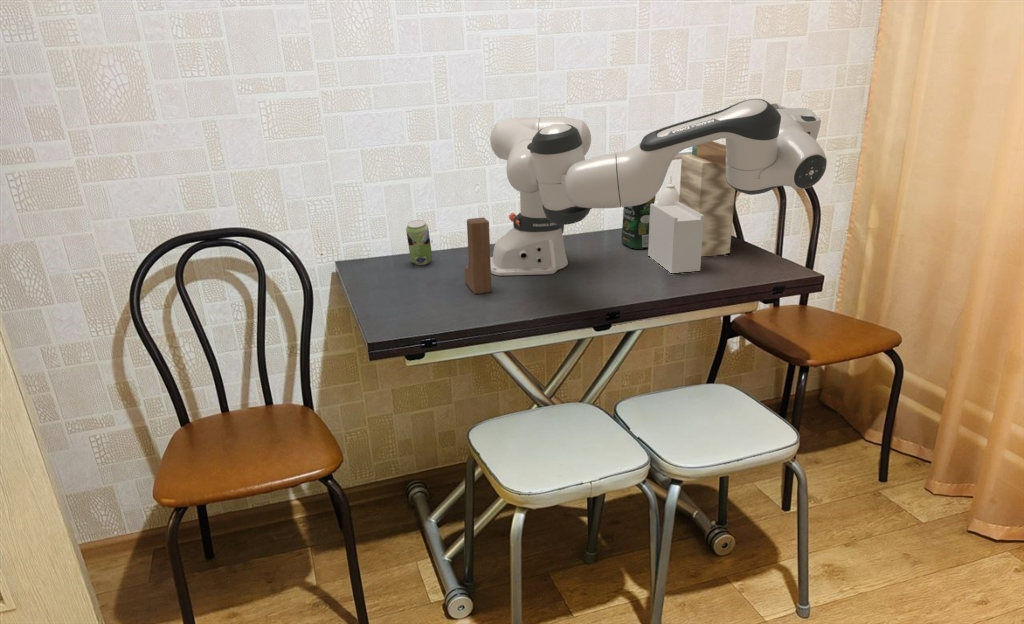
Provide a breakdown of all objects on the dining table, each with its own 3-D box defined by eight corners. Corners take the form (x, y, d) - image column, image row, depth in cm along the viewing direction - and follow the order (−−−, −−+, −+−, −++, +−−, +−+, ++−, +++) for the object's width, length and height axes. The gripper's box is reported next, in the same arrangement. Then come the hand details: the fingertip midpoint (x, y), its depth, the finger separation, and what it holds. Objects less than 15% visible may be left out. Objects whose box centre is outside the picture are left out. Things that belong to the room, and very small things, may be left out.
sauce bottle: (686, 235, 227) (690, 176, 220) (667, 239, 223) (670, 179, 216) (668, 229, 233) (671, 172, 226) (649, 233, 229) (652, 175, 223)
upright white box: (671, 274, 194) (674, 217, 188) (648, 256, 208) (650, 203, 203) (700, 271, 195) (704, 215, 190) (674, 254, 210) (678, 201, 204)
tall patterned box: (695, 258, 206) (702, 163, 196) (676, 245, 218) (681, 155, 208) (729, 254, 208) (737, 161, 198) (708, 242, 220) (715, 152, 210)
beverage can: (434, 259, 210) (431, 217, 206) (429, 267, 204) (426, 224, 199) (412, 259, 211) (409, 217, 207) (406, 267, 204) (403, 224, 200)
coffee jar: (617, 242, 221) (618, 180, 214) (640, 239, 224) (643, 177, 217) (633, 251, 213) (635, 186, 206) (657, 248, 215) (660, 184, 208)
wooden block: (465, 283, 191) (461, 214, 184) (481, 281, 192) (479, 212, 186) (474, 294, 183) (471, 223, 177) (492, 292, 184) (489, 221, 178)
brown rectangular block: (729, 168, 189) (730, 152, 187) (691, 154, 209) (692, 139, 207) (744, 167, 189) (745, 151, 188) (705, 153, 209) (706, 139, 208)
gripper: (726, 151, 155) (705, 122, 166) (820, 147, 157) (793, 119, 168) (732, 123, 151) (710, 95, 162) (828, 119, 153) (800, 92, 164)
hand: (753, 107), depth 165 cm, fingers open, 8 cm apart
